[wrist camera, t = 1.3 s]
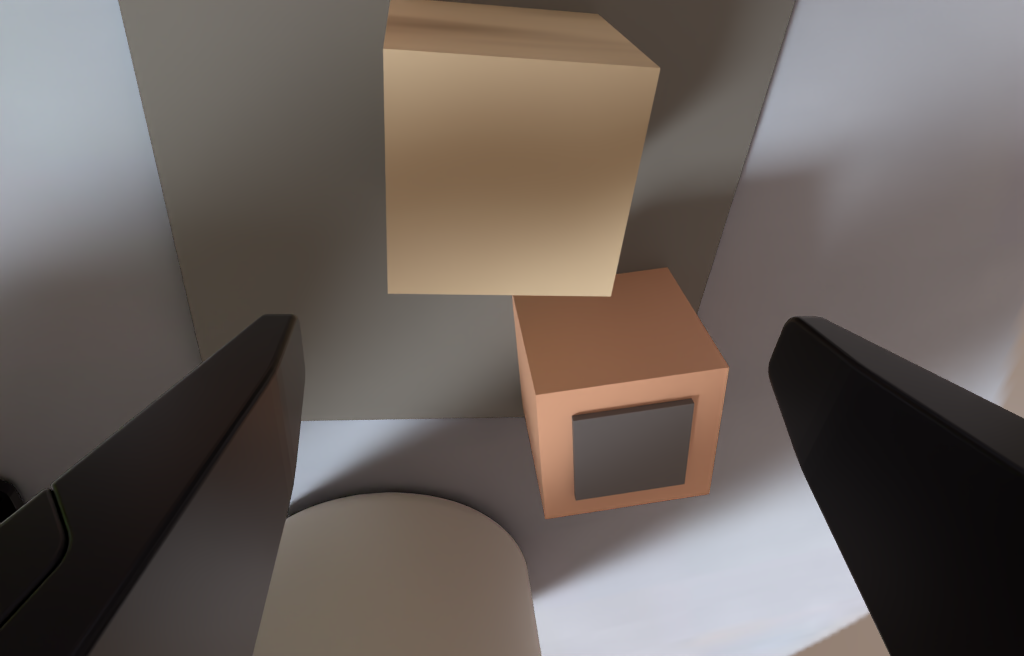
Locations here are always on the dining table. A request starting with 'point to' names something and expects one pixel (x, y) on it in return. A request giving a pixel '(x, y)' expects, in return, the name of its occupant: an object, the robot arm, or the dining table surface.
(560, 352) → the labelled block
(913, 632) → the robot arm
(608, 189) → the plain block
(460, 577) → the cylinder vase
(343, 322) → the mat
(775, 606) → the dining table surface
